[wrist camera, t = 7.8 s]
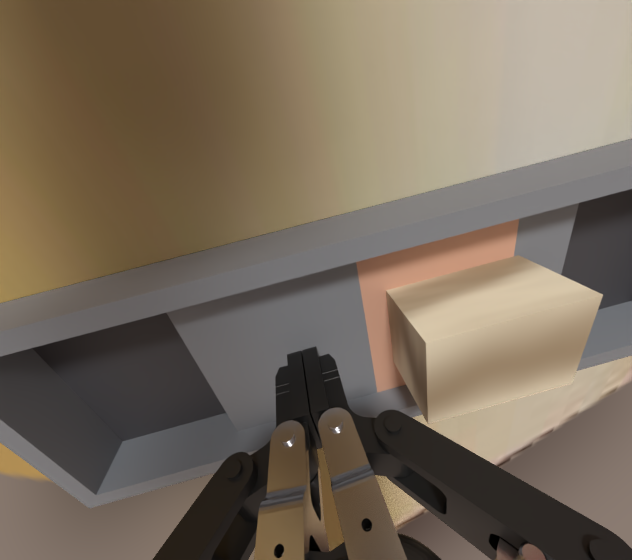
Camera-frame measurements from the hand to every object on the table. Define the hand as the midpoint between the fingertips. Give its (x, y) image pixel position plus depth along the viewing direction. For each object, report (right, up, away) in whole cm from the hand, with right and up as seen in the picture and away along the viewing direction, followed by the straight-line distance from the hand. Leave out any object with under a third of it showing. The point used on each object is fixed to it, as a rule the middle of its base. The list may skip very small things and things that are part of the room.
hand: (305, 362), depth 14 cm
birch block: (+8, +2, +1) cm, 8 cm away
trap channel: (+4, +3, +3) cm, 5 cm away
